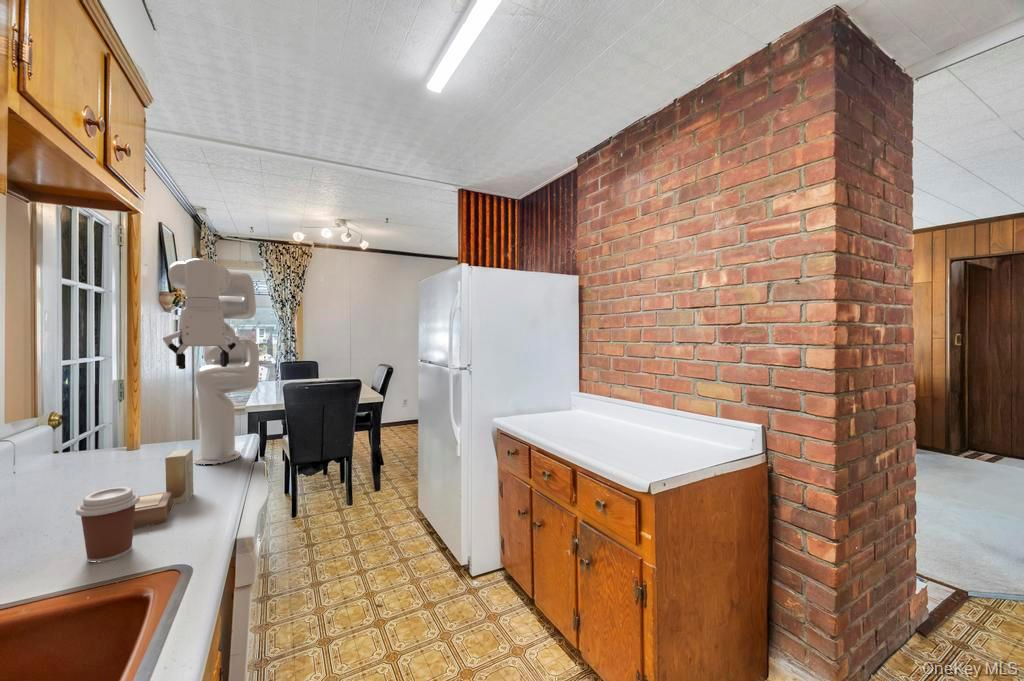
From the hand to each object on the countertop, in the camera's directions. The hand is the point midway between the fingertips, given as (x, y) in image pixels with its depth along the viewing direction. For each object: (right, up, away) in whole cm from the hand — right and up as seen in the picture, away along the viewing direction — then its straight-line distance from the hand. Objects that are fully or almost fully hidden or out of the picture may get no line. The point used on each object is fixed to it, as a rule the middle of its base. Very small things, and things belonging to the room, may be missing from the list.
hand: (203, 367), depth 116 cm
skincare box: (-1, -34, -7) cm, 34 cm away
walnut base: (-1, -34, -18) cm, 38 cm away
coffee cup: (+6, -35, -33) cm, 48 cm away
